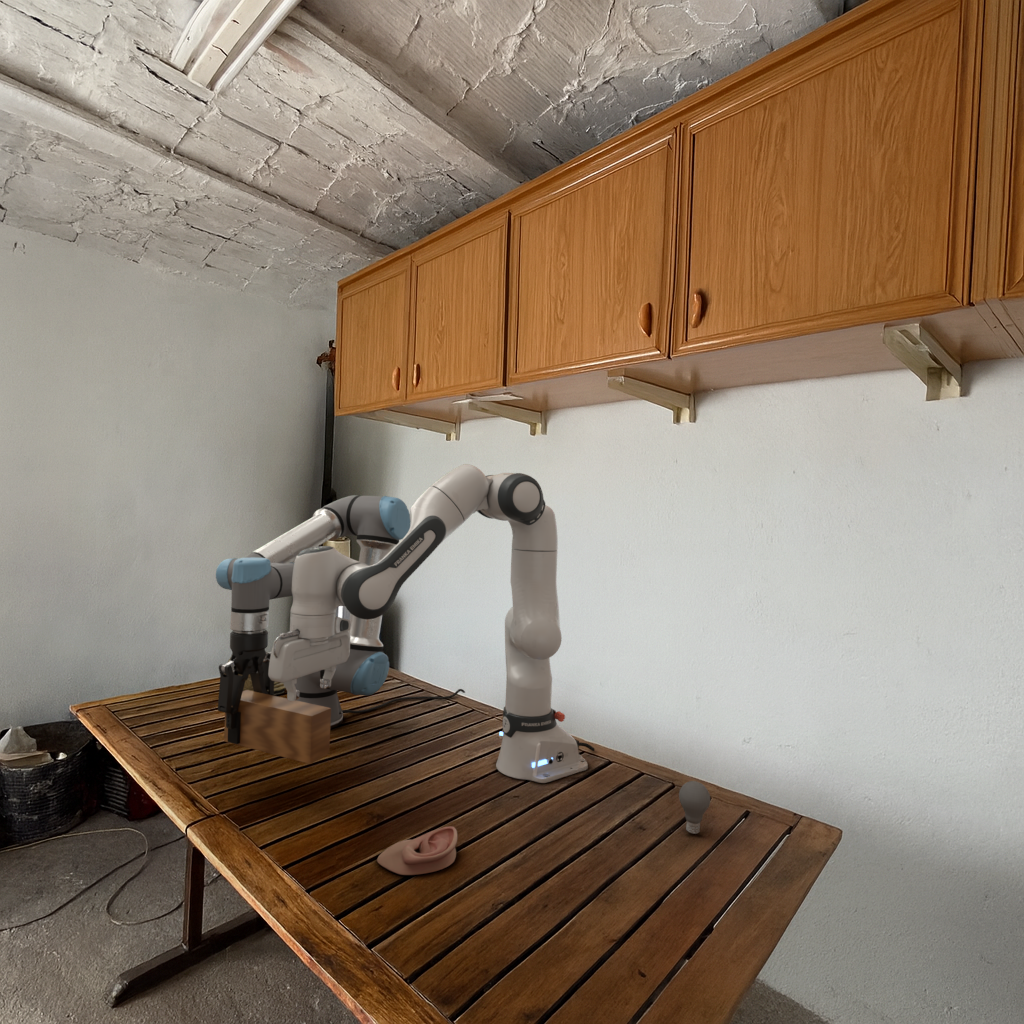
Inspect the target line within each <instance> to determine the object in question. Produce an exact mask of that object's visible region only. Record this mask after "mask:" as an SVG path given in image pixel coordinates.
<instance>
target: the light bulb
mask: <svg viewBox="0 0 1024 1024" xmlns="http://www.w3.org/2000/svg"><path fill="white" fill-rule="evenodd" d="M678 799H679V803H680V805H681V807H682V810H683V811H684V818H685V820H686V824H685V829H686V832H688V833H690V834H691V835H692V834H693V835H694V834H695V835H696V834H699V833H700V831H701V829H700V828H701V823H702V821H703V816H704V814H705V813H706V811H707V810H708V808H709V807H710V804H711V794H710V792H709V790H708V788H707V787H706V786H705V785H704V784H703V783H702V782H700V781H697V780H689V781H687V782H685V783H683V785H682V786H681V787H680V788H679V792H678Z"/></svg>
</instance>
